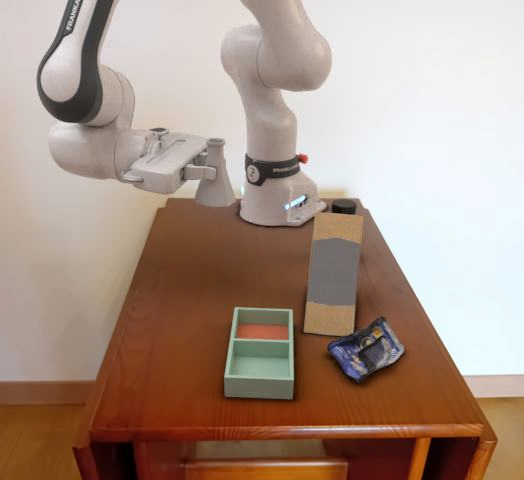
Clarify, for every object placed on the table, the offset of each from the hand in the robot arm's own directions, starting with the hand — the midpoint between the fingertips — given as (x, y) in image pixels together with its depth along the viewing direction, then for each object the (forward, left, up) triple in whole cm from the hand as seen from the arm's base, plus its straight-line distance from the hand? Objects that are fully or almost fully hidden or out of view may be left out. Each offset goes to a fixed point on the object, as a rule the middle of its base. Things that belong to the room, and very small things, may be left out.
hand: (220, 168), depth 89 cm
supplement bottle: (-24, +8, -22) cm, 34 cm away
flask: (+1, -1, -6) cm, 6 cm away
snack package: (+1, +33, -22) cm, 40 cm away
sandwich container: (-7, +20, -22) cm, 30 cm away
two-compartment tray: (+12, +21, -22) cm, 33 cm away
